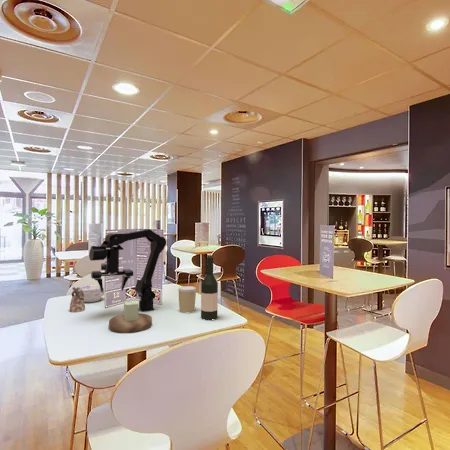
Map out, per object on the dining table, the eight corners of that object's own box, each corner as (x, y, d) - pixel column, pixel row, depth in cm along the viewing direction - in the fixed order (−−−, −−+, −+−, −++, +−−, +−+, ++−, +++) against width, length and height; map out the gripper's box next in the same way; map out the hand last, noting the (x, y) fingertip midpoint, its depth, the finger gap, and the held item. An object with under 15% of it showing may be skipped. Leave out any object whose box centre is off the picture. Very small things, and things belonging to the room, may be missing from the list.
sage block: (135, 316, 137) (135, 301, 137) (138, 319, 132) (138, 303, 132) (123, 318, 134) (124, 302, 134) (126, 321, 130) (126, 305, 130)
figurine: (78, 312, 152) (79, 288, 152) (66, 311, 153) (66, 288, 153) (87, 309, 159) (88, 286, 159) (75, 308, 160) (76, 285, 160)
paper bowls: (86, 297, 185) (86, 284, 185) (109, 298, 183) (109, 285, 183) (70, 303, 170) (70, 289, 170) (95, 304, 168) (95, 290, 168)
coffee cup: (198, 309, 161) (199, 286, 161) (191, 314, 152) (191, 290, 152) (183, 307, 164) (183, 285, 164) (174, 312, 155) (175, 288, 155)
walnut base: (145, 317, 145) (145, 311, 145) (156, 328, 130) (156, 321, 130) (106, 323, 137) (106, 316, 137) (112, 335, 121) (112, 328, 121)
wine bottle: (220, 316, 148) (221, 255, 149) (212, 321, 141) (213, 257, 141) (205, 314, 152) (206, 254, 152) (197, 318, 144) (198, 256, 145)
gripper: (128, 257, 159) (128, 286, 159) (89, 258, 149) (89, 290, 149) (133, 259, 149) (133, 290, 149) (92, 260, 140) (92, 294, 140)
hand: (112, 291), depth 147 cm, fingers open, 9 cm apart
